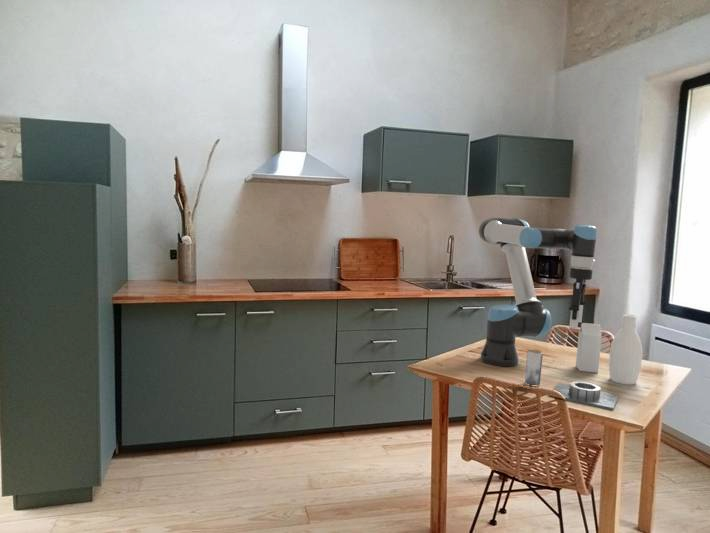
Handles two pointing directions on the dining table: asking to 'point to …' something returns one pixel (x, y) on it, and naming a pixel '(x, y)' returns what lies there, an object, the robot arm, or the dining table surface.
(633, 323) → the bottle
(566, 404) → the dining table surface
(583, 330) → the milk carton
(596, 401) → the flange plate
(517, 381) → the dining table surface
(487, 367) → the dining table surface
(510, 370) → the dining table surface
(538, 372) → the block
